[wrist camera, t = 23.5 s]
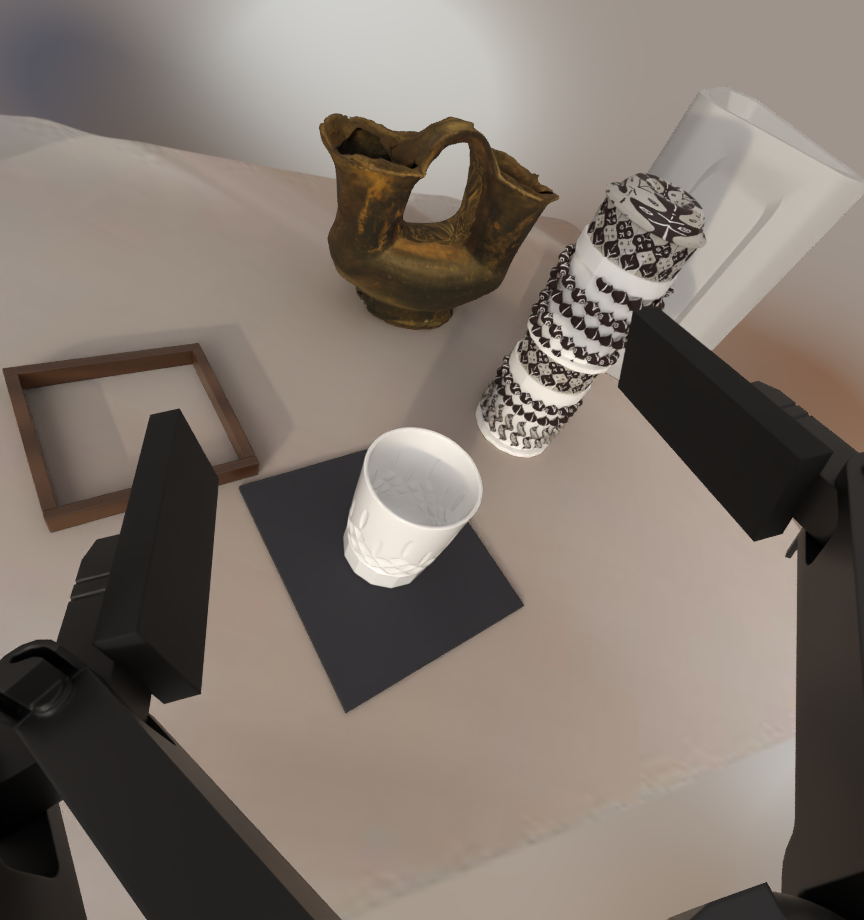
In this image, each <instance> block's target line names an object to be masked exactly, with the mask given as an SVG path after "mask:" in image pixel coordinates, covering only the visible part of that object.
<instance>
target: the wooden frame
mask: <svg viewBox="0 0 864 920" xmlns="http://www.w3.org/2000/svg"><path fill="white" fill-rule="evenodd" d="M187 364H193V365H194V367H195V369H196V371H197V373H198V375H199V377H200V380H201V382H202V384H203V386H204V388H205V390H206V392H207V394H208V396H209V398H210V400H211V402H212V404H213V406H214V408H215V410H216V412H217V414H218V416H219V418H220V420H221V422H222V424H223V427H224V429H225V431H226V433H227V435H228V437H229V439H230V441H231V443H232V445H233V447H234V449H235V451H236V453H237V455H238V457H239V459H240V460H236V461H233V462H229V463H225V464H221V465H217V466H213V467H212V468H213V469H214V471H215V473H216V475H217V477H218V478H219V484H218V486H219V485H222V484H226V483H229V482H233V481H236V480H240V479H243V478H247V477H250V476H254V475H257V474H258V469H259V461H258V459H257V457H256V456H255V453H254V451H253V449H252V447H251V445H250V443H249V441H248V439H247V437H246V435H245V433H244V431H243V429H242V427H241V425H240V423H239V421H238V420H237V418H236V416H235V414H234V412H233V410H232V408H231V406H230V404H229V402H228V400H227V398H226V396H225V394H224V392H223V390H222V388H221V386H220V384H219V382H218V380H217V378H216V376H215V374H214V372H213V370H212V368H211V366H210V364H209V362H208V360H207V358H206V356H205V354H204V352H203V351H202V349H201V347H200V345H199V343H195V344H188V345H180V346H172V347H164V348H157V349H149V350H141V351H133V352H126V353H118V354H110V355H103V356H95V357H87V358H79V359H72V360H64V361H56V362H48V363H41V364H33V365H25V366H18V367H10V368H3V369H2V370H3V374H4V377H5V381H6V384H7V388H8V392H9V395H10V399H11V402H12V406H13V409H14V413H15V417H16V420H17V424H18V427H19V431H20V434H21V438H22V441H23V445H24V449H25V452H26V456H27V459H28V463H29V466H30V470H31V473H32V477H33V481H34V484H35V488H36V491H37V495H38V498H39V502H40V506H41V509H42V512H43V516H44V520H45V522H46V524H47V526H48V528H49V530H50V532H55V531H59V530H62V529H66V528H70V527H73V526H77V525H80V524H84V523H87V522H91V521H94V520H98V519H101V518H105V517H109V516H112V515H116V514H119V513H123V512H126V508H127V504H128V500H129V496H130V492H131V489H132V488H129V489H125V490H121V491H117V492H114V493H110V494H106V495H102V496H98V497H94V498H91V499H87V500H83V501H79V502H75V503H71V504H68V505H64V506H60V507H59V506H58V503H57V499H56V496H55V493H54V489H53V486H52V482H51V479H50V476H49V472H48V469H47V466H46V462H45V459H44V456H43V452H42V449H41V446H40V442H39V439H38V435H37V432H36V429H35V425H34V422H33V419H32V415H31V412H30V409H29V405H28V402H27V398H26V395H25V392H24V389H27V388H33V387H40V386H47V385H53V384H60V383H67V382H73V381H80V380H87V379H93V378H100V377H107V376H113V375H120V374H127V373H134V372H140V371H147V370H154V369H160V368H167V367H174V366H180V365H187Z"/></svg>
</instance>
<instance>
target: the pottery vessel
mask: <svg viewBox="0 0 864 920" xmlns="http://www.w3.org/2000/svg"><path fill="white" fill-rule="evenodd" d="M319 130H320V135H321V139H322V142H323V144H324V145H325V147H326V148H327V150H328V151H329V153H330V155H331V157H332V159H333V162H334V164H335V168H336V178H337V199H338V201H337V202H338V210H337V214H336V218H335V221H334V223H333V225H332V227H331V229H330V232H329V235H328V243H329V249H330V253H331V257H332V259H333V262H334V264H335V267H336V269H337V271H338V273H339V274H340V275H341V276H342V277H343V278H345V279H346V280H347V281H349V282H350V283H352V284H354V285H355V286H356V290H357V294H358V295H359V297H360V299H363V300H364V304H366V305H367V309H368V311H369V312H370V313H372V314H373V315H374V316H376V317H378V318H380V319H382V320H384V321H385V322H387V323H389V324H392V325H395V326H399V327H403V328H408V329H434V328H437V327H440V326H441V325H442V324H444V323H446V322H447V321H448V320H449V318H451V317H452V315H453V314H452V309H451V308H454V307H457V306H460V305H462V304H465V303H468V302H470V301H473V300H476V299H478V298H480V297H482V296H484V295H486V294H489V293H490V292H492V291H494V290H495V289H497V288H498V287H499V286H500V284H501V283H502V281H503V279H504V277H505V275H506V273H507V270H508V268H509V266H510V264H511V262H512V260H513V258H514V256H515V254H516V253H517V251H518V249H519V247H520V246H521V244H522V243H523V241H524V239H525V238H526V236H527V235H528V233H529V232H530V230H531V229H532V227H533V225H534V224H535V223H536V221H537V219H538V218H539V216H540V215H541V213H542V212H543V210H544V209H545V207H546V206H547V205H548V204H549V203H551V202H553V201H555V200H558V199H559V196H558V195H557V194H555V193H553V192H552V190H551V189H549V188H548V187H546V186H544V185H541V184H540V183H539V182H538V176H539V175H536V174H531V173H530V172H529V170H527V169H526V168H524V167H523V166H521V165H520V164H519V163H518V162H517V161H516V160H515V159H514V158H513V157H511V156H509V155H508V154H507V153H505V152H502V151H498V150H495V149H493V148H491V147H490V145H489V143H488V141H487V139H486V138H485V136H483V134H481V133H480V132H479V131H477V130H476V129H475V128H474V124H473V123H472V122H468V121H464V120H462V119H458V118H454V117H448V118H446V119H443V120H441V121H439V122H436V123H433V124H431V125H429V126H428V127H427V128H425V129H424V130H422V131H420V132H415V131H407V132H405V131H400V132H399V131H392V130H390V129H387V128H386V127H384V126H383V125H382V124H377V123H375V122H374V121H372V120H367V119H365V118H362V117H357V116H356V117H350V119H348V118H347V116H343V115H342V114H332V115H330V116H328V117H327V118H325V120H324V123H321V124H320V126H319ZM462 142H465V143H468V145H469V149H470V166H469V173H468V180H467V185H466V188H465V192H464V196H463V200H462V204H461V207H460V208H459V210H458V211H457V213H456V214H455V215H454V216H452V217H451V218H449V219H447V220H445V221H442V222H437V223H407V222H405V221H404V220H403V213H404V210H405V207H406V204H407V202H408V199H409V196H410V193H411V190H412V189H413V187H414V185H415V184H416V183H417V182H418V181H419V180H420V179H422V178H424V176H425V175H426V173H425V172H426V171H427V169H428V167H429V165H430V163H431V162H432V161H433V160H434V159H436V158H437V156H439V154H440V153H441V151H442V150H443V149H444V148H446V147H447V146H449V145H452V144H456V143H462ZM359 292H360V293H359Z"/></svg>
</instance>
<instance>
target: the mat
mask: <svg viewBox="0 0 864 920" xmlns="http://www.w3.org/2000/svg"><path fill="white" fill-rule="evenodd" d="M367 451H368V449H367V450H363V451H360V452H356V453H353V454H349V455H346V456H343V457H339V458H336V459H332V460H329V461H325V462H322V463H318V464H315V465H311V466H308V467H305V468H301V469H298V470H294V471H291V472H287V473H284V474H280V475H277V476H273V477H270V478H266V479H263V480H260V481H256V482H253V483H249V484H246V485H242V486H239V490H240V492H241V494H242V496H243V498H244V500H245V502H246V504H247V506H248V509H249V511H250V513H251V515H252V517H253V519H254V521H255V523H256V525H257V527H258V530H259V532H260V534H261V536H262V538H263V540H264V542H265V544H266V546H267V549H268V551H269V553H270V555H271V557H272V559H273V561H274V563H275V565H276V567H277V570H278V572H279V574H280V576H281V578H282V580H283V582H284V584H285V586H286V589H287V591H288V593H289V595H290V597H291V599H292V601H293V603H294V605H295V607H296V610H297V612H298V614H299V616H300V618H301V620H302V622H303V624H304V626H305V629H306V631H307V633H308V635H309V637H310V639H311V641H312V643H313V645H314V647H315V650H316V652H317V654H318V656H319V658H320V660H321V662H322V664H323V666H324V669H325V671H326V673H327V675H328V677H329V679H330V681H331V683H332V685H333V687H334V690H335V692H336V694H337V696H338V698H339V700H340V702H341V704H342V706H343V709H344V711H345V713H347V712H349V711H350V710H352V709H354V708H355V707H357V706H359V705H360V704H362V703H364V702H365V701H367V700H369V699H370V698H372V697H374V696H375V695H377V694H379V693H380V692H382V691H384V690H385V689H387V688H389V687H390V686H392V685H394V684H395V683H397V682H399V681H400V680H402V679H404V678H405V677H407V676H409V675H410V674H412V673H413V672H415V671H417V670H418V669H420V668H422V667H423V666H425V665H427V664H428V663H430V662H432V661H433V660H435V659H437V658H438V657H440V656H442V655H443V654H445V653H447V652H448V651H450V650H452V649H453V648H455V647H457V646H458V645H460V644H462V643H463V642H465V641H467V640H468V639H470V638H472V637H473V636H475V635H477V634H478V633H480V632H482V631H483V630H485V629H487V628H488V627H490V626H492V625H493V624H495V623H497V622H498V621H500V620H501V619H503V618H505V617H506V616H508V615H510V614H511V613H513V612H515V611H516V610H518V609H520V608H521V607H523V606H524V604H523V603H522V601H521V600H520V598H519V597H518V595H517V594H516V592H515V591H514V589H513V588H512V587H511V585H510V584H509V582H508V581H507V579H506V578H505V576H504V575H503V573H502V572H501V570H500V569H499V567H498V566H497V564H496V563H495V561H494V560H493V558H492V557H491V555H490V554H489V552H488V551H487V549H486V548H485V546H484V545H483V543H482V542H481V540H480V539H479V537H478V536H477V534H476V533H475V532H474V530H473V529H472V527H471V526H470V524H469V523H468V522H467V523H466V524H465V526H464V527H463V528H462V529H461V530H460V532H459V533H458V534H457V535H456V536H455V537H454V539H453V540H452V541H451V542H450V543H449V545H448V546H447V547H446V548H445V549H444V550H443V551H442V552H441V553H440V554H439V555H438V556H437V557H436V559H435V560H434V561H433V562H432V563H431V564H430V565H429V566H427V567H426V568H425V569H424V571H423V572H422V573H421V574H419V575H418V576H417V577H416V578H415V579H414V580H413V581H412V582H411V583H409V584H406V585H402V586H398V587H394V588H388V587H383V586H377V585H372V584H370V583H369V582H367V581H366V580H364V579H363V578H362V577H360V576H359V575H357V574H356V573H355V572H354V571H353V569H352V568H351V566H350V564H349V562H348V561H347V559H346V557H345V555H344V541H343V536H344V533H345V530H346V527H347V523H348V516H349V512H350V508H351V505H352V500H353V496H354V492H355V489H356V486H357V482H358V479H359V476H360V473H361V469H362V466H363V462H364V459H365V456H366V453H367Z"/></svg>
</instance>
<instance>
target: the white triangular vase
mask: <svg viewBox="0 0 864 920" xmlns="http://www.w3.org/2000/svg"><path fill="white" fill-rule="evenodd" d="M647 174H652V175H655V176H658V177H661V178H663V179H665V180H667V181H669V182H671V183H673V184H675V185H677V186H678V187H680V188H681V189H683V190H684V191H686V192H687V193H688V194H690V195H691V196H692V197H693V198H694V199H695V200H696V201H697V202H698V203H699V204H700V206H701V207H702V208H703V212H704V216H705V223H704V228H703V233H704V234H705V237H706V242H707V244H706V245H705V246H703V247H702V248H697V250H696V251H695V252H694V253H693V255H692V256H691V257H690V259H689V260H688V261H687V262H686V264H685V265H684V266H683V267H682V269H681V270H680V271H679V272H678V274H677V275H676V276H677V279H676V280H675V281H674V283H673V285H671V286H670V287H671V288H673V289H674V290H673V291H674V293H665V294H664V295H663V297H664V296H665V295H666V294H668V295H669V297H664V298H663V301H664V303H665V307H664V309H663V310H662V311H663V312H664V313H666V314H667V315H668V316H669V317H671V318H672V319H673V320H674V321H675V322H677V323H678V324H679V325H680V326H682V327H683V328H684V329H685V330H686V331H688V332H689V333H690V334H691V335H692V336H694V337H695V338H696V339H697V340H699V341H700V342H701V343H702V344H703V345H705V346H706V347H707V348H708V349H710V350H711V351H712V350H713V349H714V348H715V347H716V346H717V345H718V344H719V343H720V342H721V341H722V339H723V338H724V337H725V336H726V335H727V334H728V333H729V332H730V331H731V330H732V329H733V328H734V327H735V326H736V325H737V324H738V323H739V322H740V321H741V320H742V319H743V318H744V317H745V316H746V315H747V314H748V313H749V311H751V309H752V308H753V307H754V306H755V305H756V304H757V303H758V302H759V301H760V300H761V299H762V298H763V297H764V296H765V295H766V294H767V293H768V292H769V291H770V290H771V289H772V288H773V287H774V286H775V285H776V284H777V283H778V282H779V281H780V280H781V279H782V278H783V277H784V276H785V274H787V273H788V271H789V270H790V269H791V268H792V267H793V266H794V265H795V264H796V263H797V262H798V261H799V260H800V259H801V258H802V257H803V256H804V255H805V254H806V253H807V252H808V251H809V250H810V249H811V248H812V247H813V246H814V245H815V244H816V243H817V241H819V240H820V239H821V238H822V236H823V235H824V234H825V233H826V232H827V231H828V230H829V229H830V228H831V227H832V226H833V225H834V224H835V223H836V222H837V221H838V220H839V219H840V218H841V217H842V216H843V215H844V214H845V213H846V212H847V210H849V208H851V207H852V206H853V204H855V202H856V201H857V200H858V199H859V198H860V197H861V196H862V195H863V194H864V179H863V178H862V177H861V176H859V175H858V174H857V173H855V172H854V171H852V170H851V169H850V168H848V167H847V166H846V165H844V164H843V163H842V162H840V161H839V160H838V159H836V158H835V157H834V156H832V155H831V154H830V153H828V152H827V151H826V150H824V149H823V148H822V147H820V146H819V145H818V144H816V143H815V142H813V141H812V140H811V139H809V138H808V137H807V136H805V135H804V134H803V133H801V132H800V131H799V130H797V129H796V128H795V127H793V126H792V125H791V124H789V123H788V122H786V121H785V120H784V119H782V118H781V117H780V116H778V115H777V114H775V113H774V112H773V111H771V110H770V109H769V108H768V107H766V106H765V105H763V104H762V103H761V102H759V101H758V100H756V99H755V98H753V97H751V96H749V95H746V94H744V93H741V92H739V91H737V90H734V89H732V88H729V87H720V88H713V89H707V90H700V91H699V92H698V94H697V95H696V97H695V98H694V100H693V102H692V103H691V105H690V106H689V108H688V110H687V111H686V113H685V114H684V116H683V118H682V119H681V121H680V122H679V124H678V126H677V127H676V129H675V130H674V132H673V134H672V135H671V137H670V138H669V140H668V141H667V143H666V145H665V146H664V148H663V149H662V151H661V153H660V154H659V156H658V157H657V159H656V161H655V162H654V164H653V165H652V167H651V168H650V170H649V172H648V173H647ZM625 338H626V337H625ZM624 341H625V339H624ZM618 352H619V354H620V356H619V358H618V359H617V362H616V363H615V364H614V365H612V366H611V367H610V368H609V369H608V370H607V371H606V372H605V373H607V374H609V375H611V376H613V377H614V378H616V379H618V380H619V378H620V373H621V368H622V363H623V358H624V353H625V348H623V349H621V350H618Z"/></svg>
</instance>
